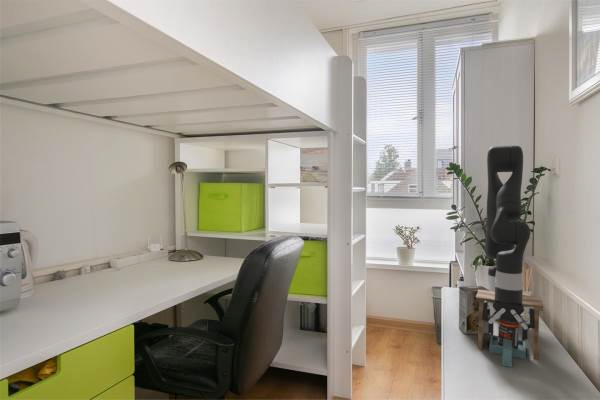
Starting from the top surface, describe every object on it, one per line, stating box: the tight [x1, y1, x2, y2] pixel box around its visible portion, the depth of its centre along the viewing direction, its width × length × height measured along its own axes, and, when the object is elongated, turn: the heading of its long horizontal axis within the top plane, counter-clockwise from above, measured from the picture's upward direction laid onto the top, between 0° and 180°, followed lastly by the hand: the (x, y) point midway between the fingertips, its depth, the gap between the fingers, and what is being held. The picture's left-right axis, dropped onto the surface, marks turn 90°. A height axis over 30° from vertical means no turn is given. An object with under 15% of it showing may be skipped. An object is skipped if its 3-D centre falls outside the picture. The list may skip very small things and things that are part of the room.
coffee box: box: [458, 285, 490, 335], centre depth 142 cm, size 9×6×16 cm
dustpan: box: [488, 334, 527, 368], centre depth 122 cm, size 19×10×5 cm, turn 151°
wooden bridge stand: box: [476, 290, 544, 361], centre depth 127 cm, size 11×19×17 cm, turn 61°
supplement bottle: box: [497, 317, 520, 349], centre depth 126 cm, size 6×6×11 cm
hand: (507, 337), depth 118 cm, fingers open, 8 cm apart
